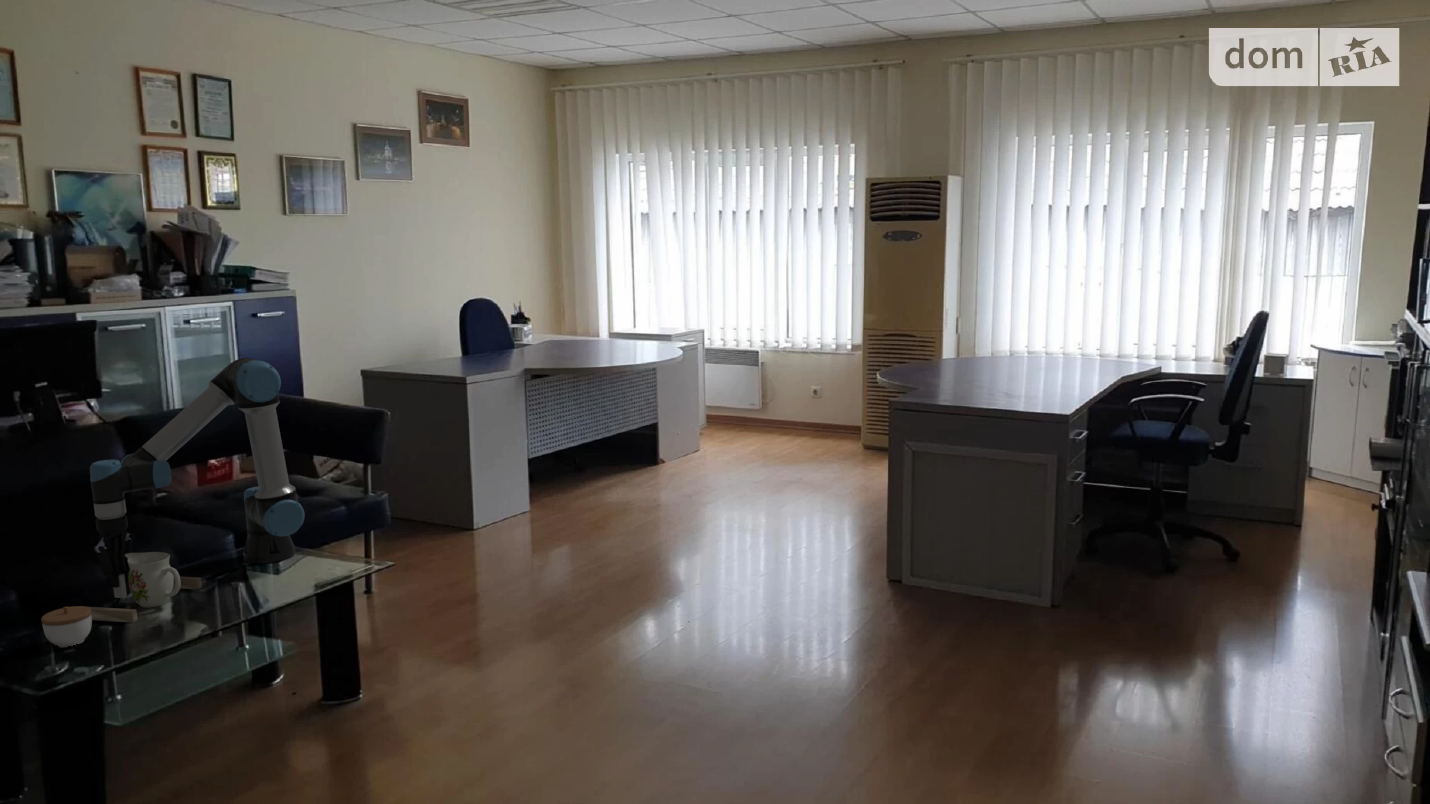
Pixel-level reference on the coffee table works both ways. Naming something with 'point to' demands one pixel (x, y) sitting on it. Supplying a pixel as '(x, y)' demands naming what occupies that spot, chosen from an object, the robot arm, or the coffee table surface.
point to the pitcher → (152, 578)
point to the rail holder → (131, 614)
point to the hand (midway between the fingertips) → (120, 596)
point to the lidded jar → (67, 625)
